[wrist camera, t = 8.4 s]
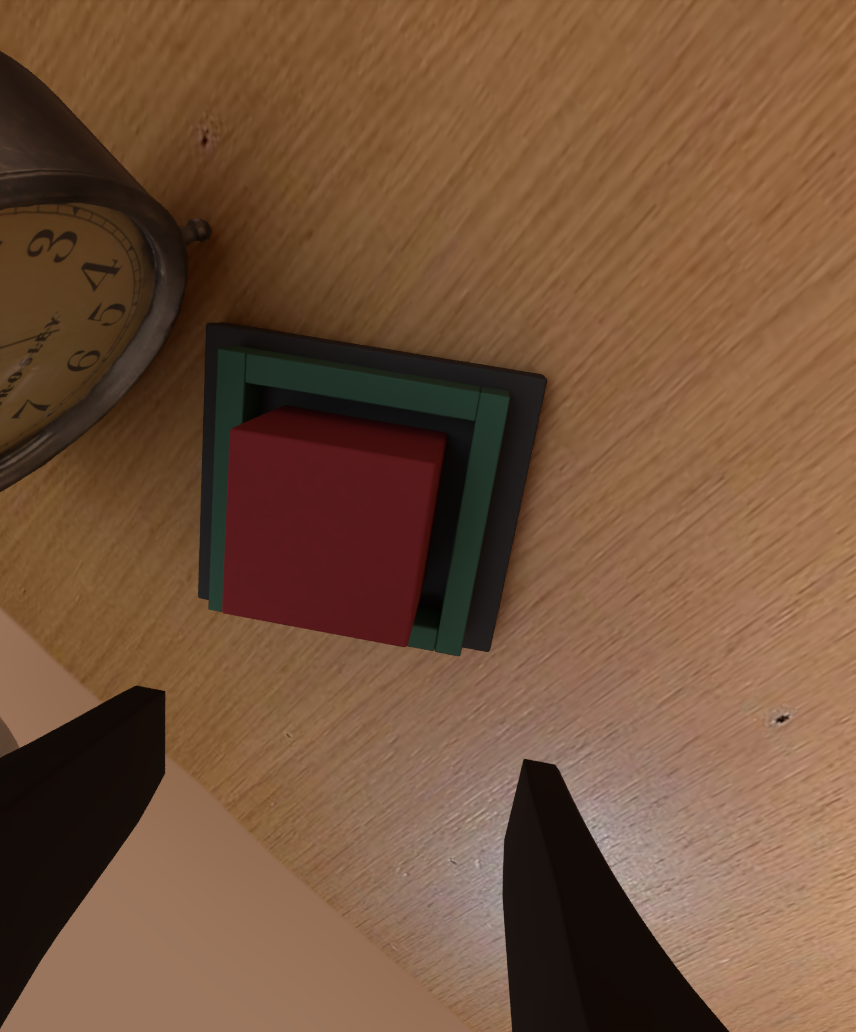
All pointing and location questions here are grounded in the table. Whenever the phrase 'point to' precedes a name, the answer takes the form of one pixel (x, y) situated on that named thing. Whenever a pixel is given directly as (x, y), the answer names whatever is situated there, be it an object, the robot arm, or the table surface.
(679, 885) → the table surface
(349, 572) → the red cube
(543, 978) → the robot arm
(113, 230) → the alarm clock
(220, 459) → the base pad
